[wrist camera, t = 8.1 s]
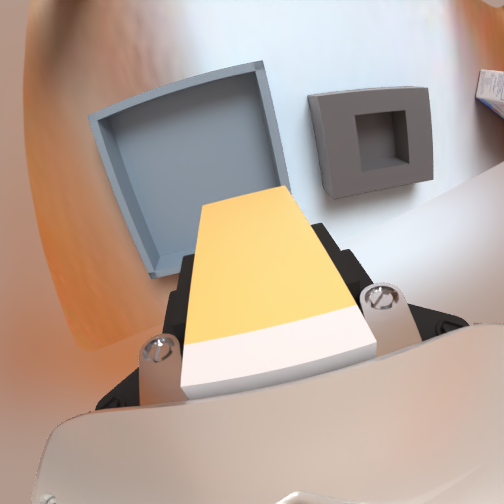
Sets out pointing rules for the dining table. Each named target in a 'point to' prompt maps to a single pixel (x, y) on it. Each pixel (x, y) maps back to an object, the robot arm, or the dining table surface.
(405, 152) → the block
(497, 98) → the medicine box
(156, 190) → the parts tray
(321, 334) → the block
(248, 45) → the dining table surface
